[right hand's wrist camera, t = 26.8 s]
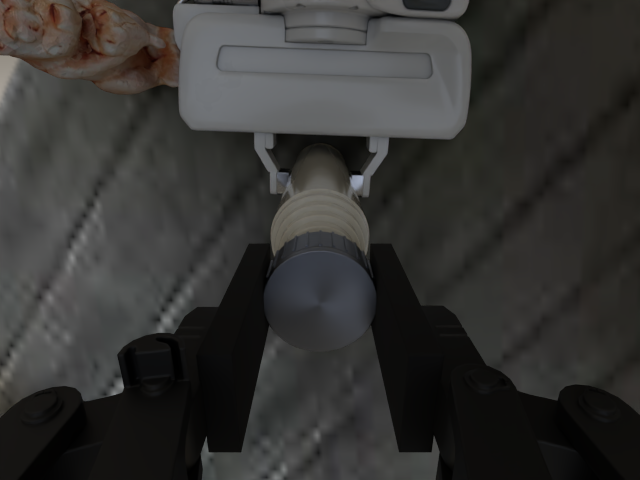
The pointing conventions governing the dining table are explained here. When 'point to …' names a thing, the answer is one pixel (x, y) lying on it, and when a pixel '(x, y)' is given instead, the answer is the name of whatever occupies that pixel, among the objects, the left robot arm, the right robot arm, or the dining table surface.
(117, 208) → the dining table surface
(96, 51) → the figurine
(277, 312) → the cap
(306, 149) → the bottle
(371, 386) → the dining table surface
